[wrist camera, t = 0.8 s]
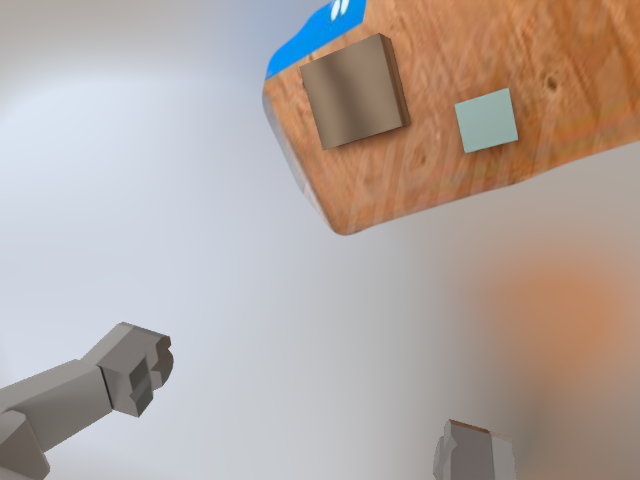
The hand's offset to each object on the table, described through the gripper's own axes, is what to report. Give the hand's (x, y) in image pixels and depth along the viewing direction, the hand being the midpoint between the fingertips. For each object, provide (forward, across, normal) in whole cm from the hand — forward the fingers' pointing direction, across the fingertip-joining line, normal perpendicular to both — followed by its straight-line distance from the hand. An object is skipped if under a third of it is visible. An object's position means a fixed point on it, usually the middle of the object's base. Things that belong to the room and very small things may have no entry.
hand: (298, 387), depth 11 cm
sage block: (+43, -8, +2) cm, 44 cm away
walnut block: (+45, +6, +2) cm, 46 cm away
